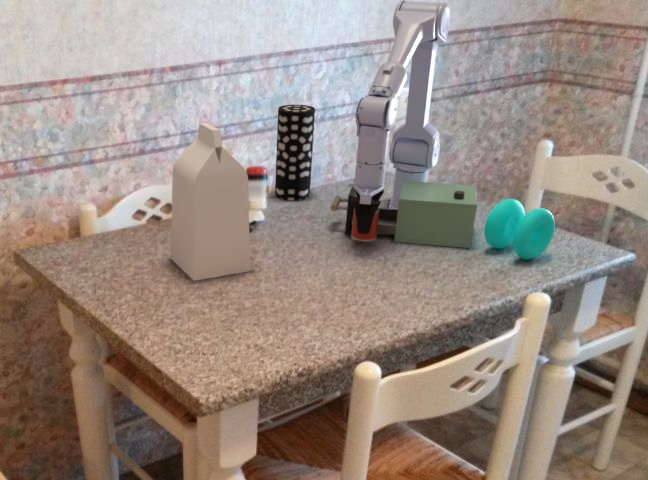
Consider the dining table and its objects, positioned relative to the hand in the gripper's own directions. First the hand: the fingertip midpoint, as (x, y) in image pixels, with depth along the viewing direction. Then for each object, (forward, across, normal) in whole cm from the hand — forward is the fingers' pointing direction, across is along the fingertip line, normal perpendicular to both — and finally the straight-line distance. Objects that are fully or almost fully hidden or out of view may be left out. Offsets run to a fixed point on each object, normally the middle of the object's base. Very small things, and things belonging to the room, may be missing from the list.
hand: (364, 228), depth 164 cm
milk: (+3, +18, -28) cm, 33 cm away
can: (+2, 0, 0) cm, 2 cm away
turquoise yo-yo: (+3, -2, +30) cm, 30 cm away
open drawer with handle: (+3, -10, +1) cm, 10 cm away
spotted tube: (+3, -28, -20) cm, 35 cm away
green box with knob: (+3, -10, +14) cm, 17 cm away
